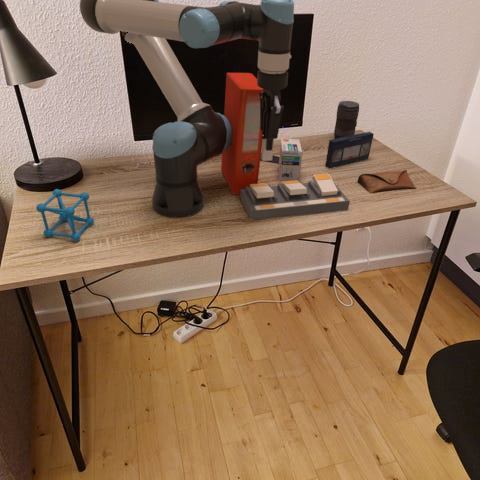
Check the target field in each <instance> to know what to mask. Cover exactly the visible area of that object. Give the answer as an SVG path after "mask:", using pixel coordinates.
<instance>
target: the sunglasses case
mask: <svg viewBox="0 0 480 480" xmlns="http://www.w3.org/2000/svg"><path fill="white" fill-rule="evenodd" d="M357 184H359V185H360V186H361V188H363V189H364V190H365V191H366V192H368V193H369V194H376V193H382V192H389V191H390V192H391V191H392V192H393V191H400V190H411V189H412V190H415V189H417V187H416V186H415V185H414V183H413V181H412V179H411V177H410V174H409V173H408V170H407V169H404V170H399V171H384V172H376V173H375V172H374V173H362V174H360V175H359V176H358V178H357Z"/></svg>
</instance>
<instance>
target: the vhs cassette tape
mask: <svg viewBox="0 0 480 480" xmlns="http://www.w3.org/2000/svg"><path fill="white" fill-rule="evenodd" d="M374 135H375V134H374V133H373V132H371V131H366V132H361V133H357V134H354V135H351V136H347V137H342V138H338V139H335V138H334V139H329V140H328V141H329V142H328V145H327V146H328V147H327V151H326V152H327V154H326V159H325V160H326V161H325V163H324V165H325V167H326V168H327V169H330V168H331V169H333V168H334V167H335V168H338V167H344V166H347V165H351V164H356V163H359V162H362V161H368V160H369V157H370V153H371V149H372V144H373V140H374Z"/></svg>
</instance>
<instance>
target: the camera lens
mask: <svg viewBox="0 0 480 480" xmlns="http://www.w3.org/2000/svg"><path fill="white" fill-rule="evenodd" d="M336 109H337V110H336V119H335V125H334V126H335V127H334V130H333V137H334V139H338V138H342V137H347V136H351V135H356V134H355V133H356V127H357V125H358V121H357V120H358V117H359V114H360V113H359V112H360V103H359V102H357V101H354V100H353V101H352V100H342V101H339V102H338V105H337V108H336Z"/></svg>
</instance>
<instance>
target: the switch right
mask: <svg viewBox="0 0 480 480" xmlns="http://www.w3.org/2000/svg"><path fill="white" fill-rule="evenodd" d="M312 180H313V181H312V182H314V183H315V185H316V187H317V189H318V190H319V191H320V193H321V196H329V195H337V193H338V190H337V188H336V186H337V185H336V186H335V184H336V183H335V182H334V180H333V178H332V177H331V175H330V174H329V173H317V174H313V176H312ZM334 183H335V184H334Z"/></svg>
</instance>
